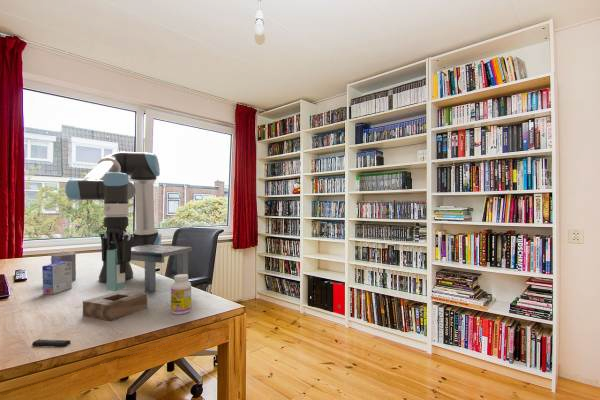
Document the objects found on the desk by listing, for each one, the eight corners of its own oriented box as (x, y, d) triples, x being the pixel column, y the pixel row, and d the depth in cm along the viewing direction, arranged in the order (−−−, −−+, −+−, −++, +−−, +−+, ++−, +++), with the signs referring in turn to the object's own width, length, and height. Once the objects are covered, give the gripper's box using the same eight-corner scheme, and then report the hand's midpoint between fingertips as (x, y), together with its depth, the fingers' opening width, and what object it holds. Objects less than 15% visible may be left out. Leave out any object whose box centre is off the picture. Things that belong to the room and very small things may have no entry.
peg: (106, 290, 108) (106, 250, 108) (117, 287, 111) (117, 248, 112) (114, 291, 106) (114, 250, 106) (125, 288, 110) (125, 249, 110)
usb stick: (72, 344, 84) (72, 338, 84) (64, 348, 82) (64, 343, 82) (39, 343, 85) (39, 337, 85) (30, 347, 82) (30, 342, 82)
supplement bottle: (166, 313, 107) (166, 276, 107) (182, 307, 113) (182, 272, 113) (180, 316, 104) (180, 278, 104) (195, 310, 110) (195, 274, 110)
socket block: (82, 315, 105) (82, 301, 105) (120, 303, 118) (120, 290, 118) (111, 321, 100) (111, 305, 100) (147, 307, 113) (147, 293, 113)
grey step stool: (115, 300, 122) (115, 249, 122) (148, 289, 136) (148, 244, 137) (161, 307, 113) (161, 253, 113) (191, 295, 128) (191, 247, 128)
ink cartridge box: (61, 287, 140) (61, 256, 140) (72, 288, 139) (72, 256, 140) (41, 294, 130) (41, 260, 130) (53, 294, 130) (53, 260, 130)
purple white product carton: (56, 279, 155) (56, 250, 155) (79, 278, 158) (78, 249, 158) (47, 284, 146) (47, 253, 146) (71, 282, 149) (71, 252, 149)
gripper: (89, 216, 109) (89, 282, 109) (124, 216, 103) (123, 286, 102) (109, 215, 116) (109, 277, 116) (142, 215, 110) (142, 281, 109)
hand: (116, 281), depth 109 cm, fingers closed on peg, 4 cm apart
